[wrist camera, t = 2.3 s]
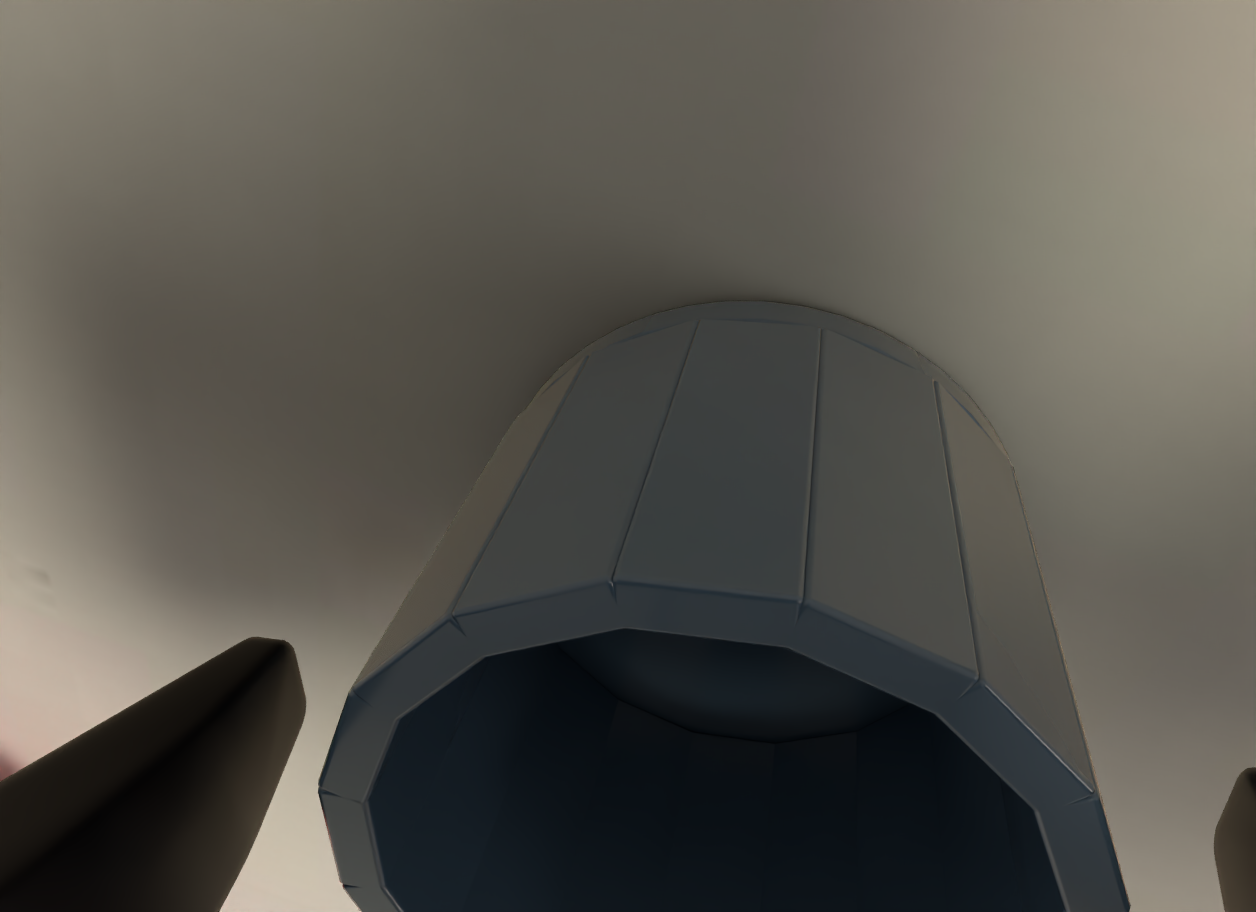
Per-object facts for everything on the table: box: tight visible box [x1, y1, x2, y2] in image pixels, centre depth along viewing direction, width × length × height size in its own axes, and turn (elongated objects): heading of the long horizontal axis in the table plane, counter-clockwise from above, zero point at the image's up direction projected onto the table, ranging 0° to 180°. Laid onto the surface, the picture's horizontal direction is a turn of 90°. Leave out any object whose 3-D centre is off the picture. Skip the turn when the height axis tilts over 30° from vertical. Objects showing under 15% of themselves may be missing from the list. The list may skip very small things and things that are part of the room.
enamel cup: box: [318, 301, 1131, 912], centre depth 10 cm, size 6×6×5 cm
